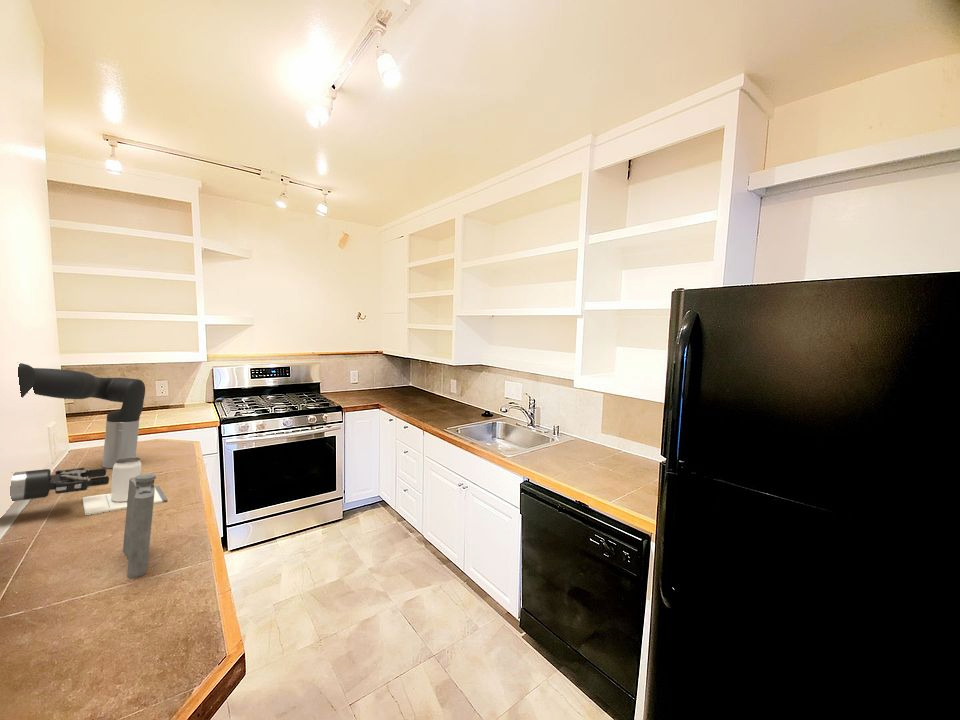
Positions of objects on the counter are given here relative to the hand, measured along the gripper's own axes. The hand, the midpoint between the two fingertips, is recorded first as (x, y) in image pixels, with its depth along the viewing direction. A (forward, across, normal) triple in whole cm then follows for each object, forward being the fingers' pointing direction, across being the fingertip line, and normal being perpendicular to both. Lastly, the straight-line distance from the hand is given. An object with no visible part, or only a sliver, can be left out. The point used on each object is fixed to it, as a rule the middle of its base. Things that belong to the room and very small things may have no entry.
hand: (107, 475), depth 114 cm
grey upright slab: (+2, -41, +9) cm, 42 cm away
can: (+5, 0, +8) cm, 9 cm away
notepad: (+5, 0, +8) cm, 10 cm away
